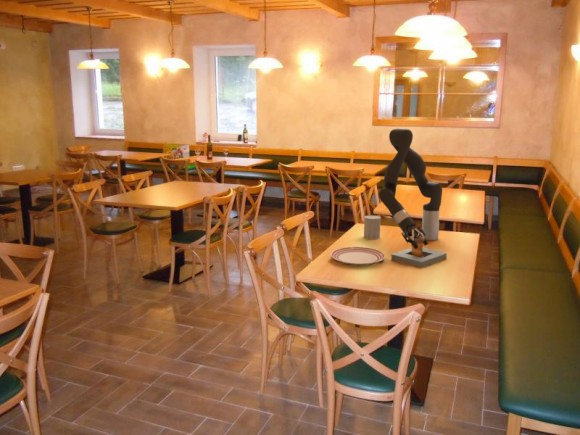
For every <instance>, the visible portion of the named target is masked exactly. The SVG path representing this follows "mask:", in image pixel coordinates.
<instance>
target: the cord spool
mask: <svg viewBox="0 0 580 435" xmlns="http://www.w3.org/2000/svg"><path fill="white" fill-rule="evenodd" d="M424 239H425V238H424V237H421V236H416V237H414V241H415V242H416V243H417V245H418V248H417V249H415V248H414V247H413V245H412V244H411V248H412V254H411V255H413V256H417V257H421V258H423V255H422V252H423V248H424V244H423V242H424Z"/></svg>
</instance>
